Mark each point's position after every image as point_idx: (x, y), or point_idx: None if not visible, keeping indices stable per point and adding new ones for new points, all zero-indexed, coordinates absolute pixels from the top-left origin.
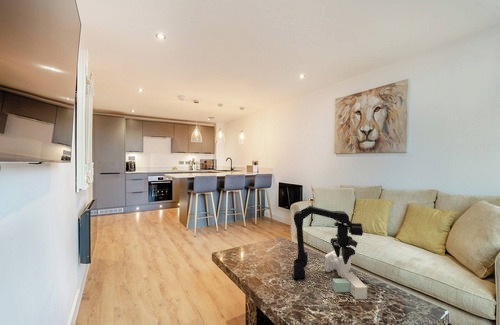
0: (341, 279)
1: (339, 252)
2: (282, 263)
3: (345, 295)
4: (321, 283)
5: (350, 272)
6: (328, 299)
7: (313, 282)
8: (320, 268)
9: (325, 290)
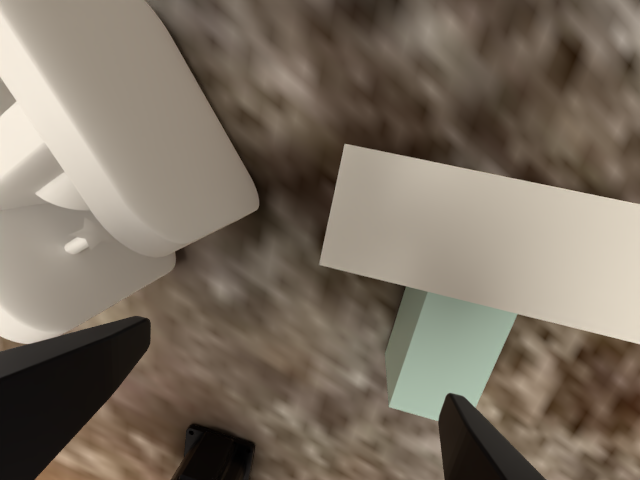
0: (428, 344)
1: (48, 370)
2: None
3: None
4: (309, 377)
5: (343, 168)
6: None
7: (287, 413)
8: None
9: None
